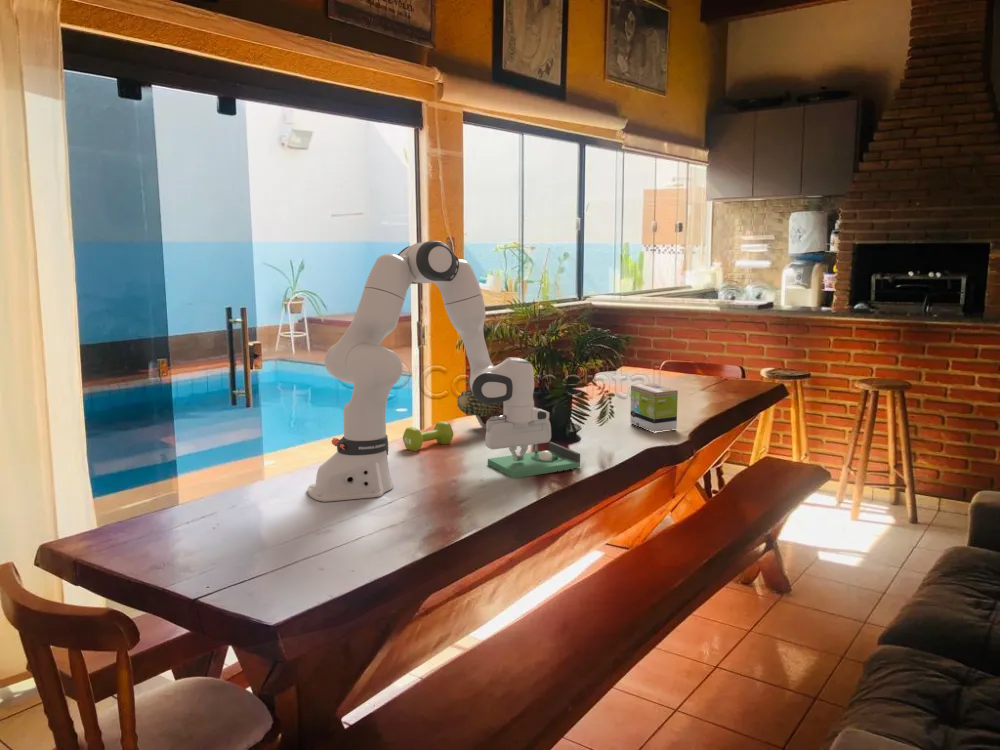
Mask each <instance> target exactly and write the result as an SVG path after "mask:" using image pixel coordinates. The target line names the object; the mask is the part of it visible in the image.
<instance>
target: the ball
mask: <svg viewBox="0 0 1000 750" xmlns="http://www.w3.org/2000/svg"><path fill="white" fill-rule="evenodd" d="M539 460H543V461H552V454H551V453H550V452H549V451H547V450H542V452H541V453H540V455H539Z"/></svg>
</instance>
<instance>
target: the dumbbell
mask: <svg viewBox="0 0 1000 750" xmlns="http://www.w3.org/2000/svg"><path fill="white" fill-rule="evenodd" d="M453 438H454V431H453V428H452V425H451V423H450V422H447V421H443V420H442V421H441V420H440V421H438V422H436V423H435V426H434V428H433V430H426V431H423V432H421V430H420V429H419V428H416V427H412V426H411V427H410V426H409V427H406V428H405V430H404V433H403V434H402V440H403V444H404V447H405V449H407V450H409V451H411V452H417V451H419V450H421V448H422V445H423V443H424V442H425V443H426V442H430V441H434V440H435V441H436V442H437V443H438V444H441V445H448V444H449V445H450V443H451V442H452V440H453Z"/></svg>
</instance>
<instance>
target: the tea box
mask: <svg viewBox="0 0 1000 750" xmlns="http://www.w3.org/2000/svg"><path fill="white" fill-rule="evenodd" d="M678 395H679V391H678V390H677V389H674V388H670V387H667V386H663V385H660V384H657V383H644V384H636V385H630V415H629V416H630V419H629V421H630V422H629V423H631V424H634V425H637V426H639V427H642V428H645V429H648V430H651V431H654V432H655V431H663V430H672V429H678V427H677V426H678V422H677V421H678ZM631 424H630V425H631ZM634 425H633V426H634ZM637 426H636V427H637ZM639 427H638V428H639ZM642 428H641V429H642Z"/></svg>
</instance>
